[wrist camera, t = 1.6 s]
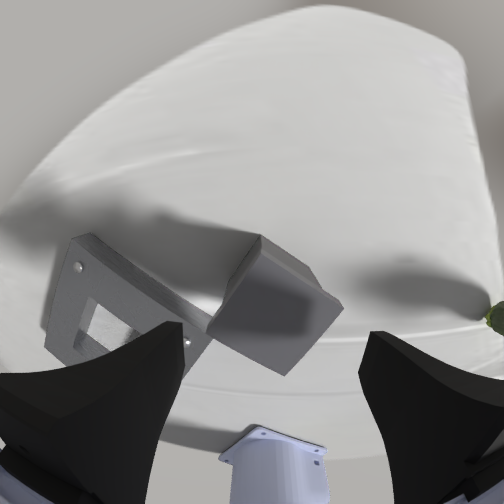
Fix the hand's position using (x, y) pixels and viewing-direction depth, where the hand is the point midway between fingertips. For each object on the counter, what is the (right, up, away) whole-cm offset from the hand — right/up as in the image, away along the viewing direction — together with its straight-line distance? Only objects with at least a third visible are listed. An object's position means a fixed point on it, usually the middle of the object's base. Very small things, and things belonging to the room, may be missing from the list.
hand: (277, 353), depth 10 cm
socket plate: (-12, -3, +11) cm, 16 cm away
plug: (0, +2, +9) cm, 10 cm away
